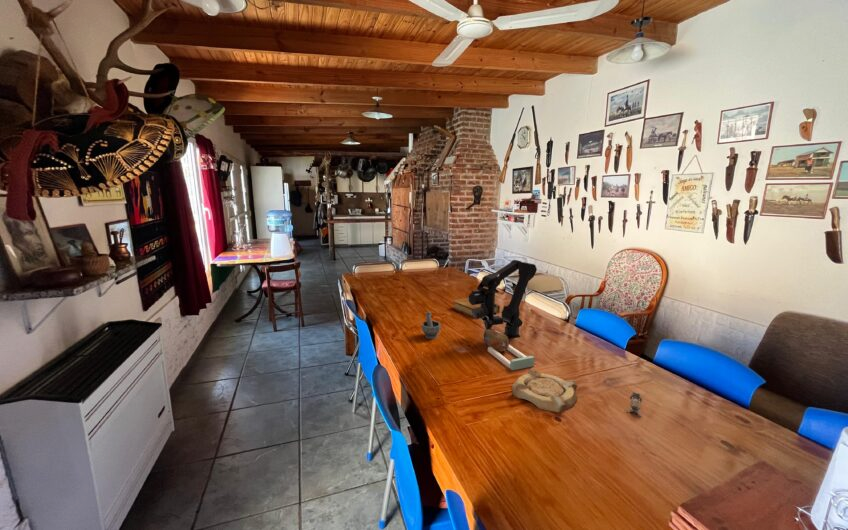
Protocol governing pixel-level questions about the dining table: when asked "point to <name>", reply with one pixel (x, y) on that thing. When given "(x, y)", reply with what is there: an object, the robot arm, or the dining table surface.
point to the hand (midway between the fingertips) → (487, 331)
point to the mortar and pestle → (430, 327)
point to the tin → (496, 340)
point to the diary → (469, 306)
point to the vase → (635, 403)
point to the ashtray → (546, 391)
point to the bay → (515, 363)
